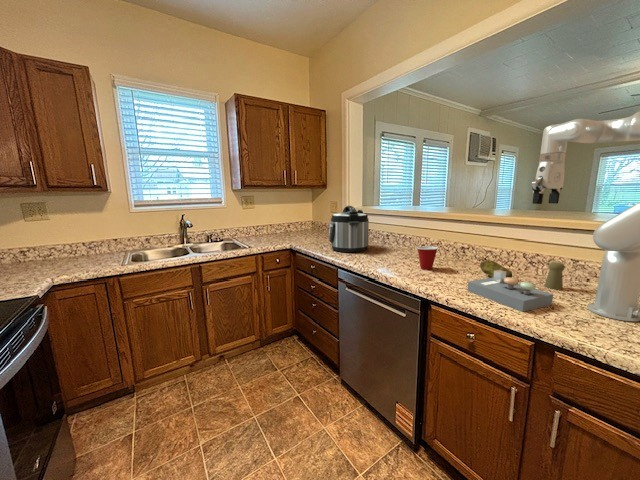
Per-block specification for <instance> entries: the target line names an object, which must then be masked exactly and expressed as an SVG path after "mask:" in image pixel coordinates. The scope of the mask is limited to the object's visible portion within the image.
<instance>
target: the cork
mask: <svg viewBox="0 0 640 480" xmlns="http://www.w3.org/2000/svg"><path fill="white" fill-rule="evenodd" d="M547 265H548V267H547V268H548V269H549V270H548V272H547V273H548V274H547V276H546V279H545V283H544V286H545V288H546V287H547V288H546V289H549V288H550V290H553V289H556V290H555V291H561V290H560V289H562V290H563V289H564V286H563V285H564V284H563V271H564V270H565V268H566V267H565V265H564V263H561V262H556V261H551V262H550V263H548V264H547Z"/></svg>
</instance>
